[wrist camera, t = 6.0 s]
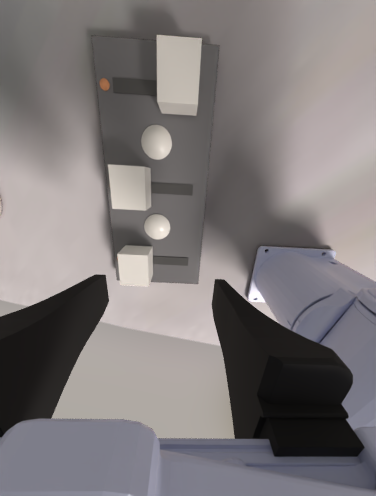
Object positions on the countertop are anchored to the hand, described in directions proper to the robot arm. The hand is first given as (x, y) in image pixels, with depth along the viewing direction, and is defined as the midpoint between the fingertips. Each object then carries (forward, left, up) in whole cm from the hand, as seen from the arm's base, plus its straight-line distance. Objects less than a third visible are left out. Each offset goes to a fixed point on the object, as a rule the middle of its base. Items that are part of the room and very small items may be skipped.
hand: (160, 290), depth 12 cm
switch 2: (+4, +2, -9) cm, 10 cm away
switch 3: (0, -14, -9) cm, 16 cm away
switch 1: (+4, -6, -9) cm, 11 cm away
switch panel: (+2, -6, -10) cm, 12 cm away
